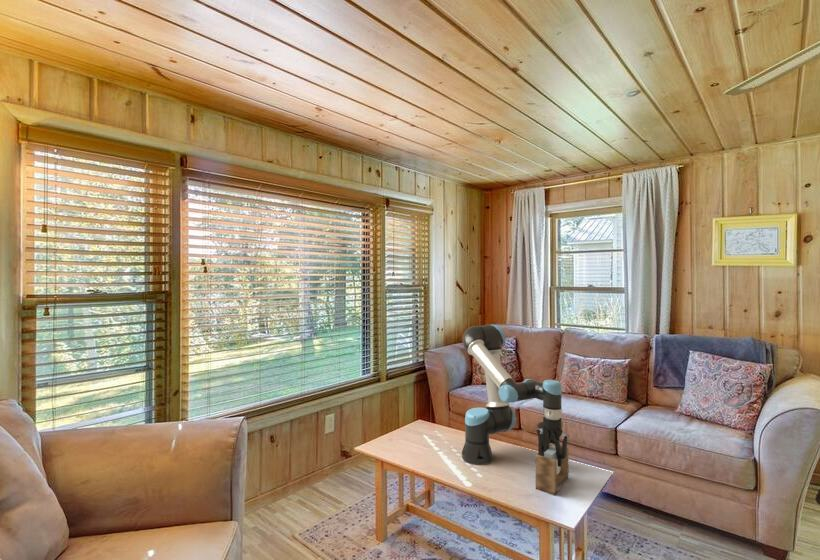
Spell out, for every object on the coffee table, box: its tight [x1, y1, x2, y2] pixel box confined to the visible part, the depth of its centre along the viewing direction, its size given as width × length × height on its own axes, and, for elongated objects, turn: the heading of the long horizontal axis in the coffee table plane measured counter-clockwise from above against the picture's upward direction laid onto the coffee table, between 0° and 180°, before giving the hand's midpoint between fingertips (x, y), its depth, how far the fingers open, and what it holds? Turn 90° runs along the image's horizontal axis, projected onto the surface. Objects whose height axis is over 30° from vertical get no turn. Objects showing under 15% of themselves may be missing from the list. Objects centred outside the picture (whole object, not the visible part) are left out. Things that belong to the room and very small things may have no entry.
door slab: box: [544, 445, 561, 475], centre depth 175 cm, size 4×10×10 cm, turn 141°
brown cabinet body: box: [535, 443, 569, 496], centre depth 175 cm, size 8×17×14 cm, turn 141°
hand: (552, 471), depth 175 cm, fingers closed on door slab, 3 cm apart
